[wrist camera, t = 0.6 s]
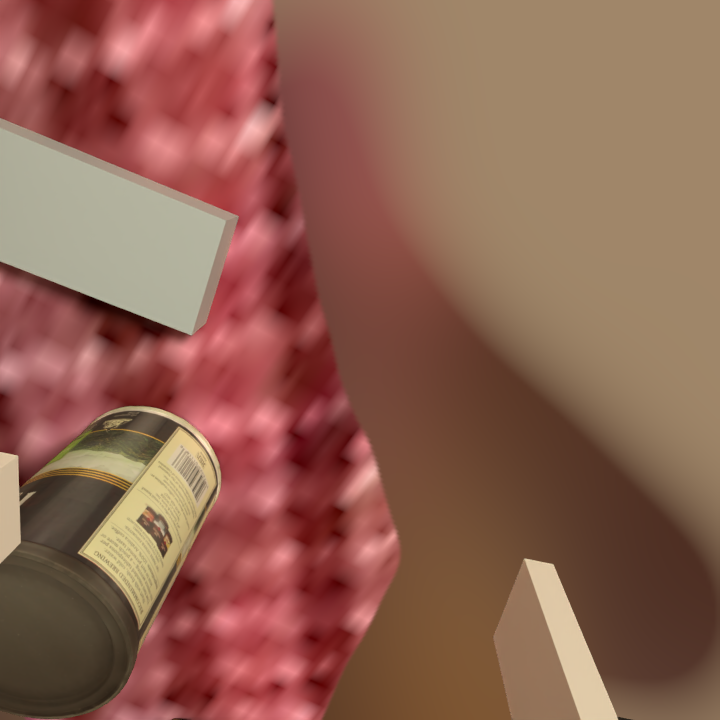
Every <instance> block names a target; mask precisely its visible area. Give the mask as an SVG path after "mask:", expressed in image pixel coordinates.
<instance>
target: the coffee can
mask: <svg viewBox="0 0 720 720" xmlns="http://www.w3.org/2000/svg"><path fill="white" fill-rule="evenodd" d="M220 487H221V471H220V465H219V462H218V460H217V457H216V455H215V453H214V451H213V449H212V447H211V446H210V444H209V443H208V441H207V440H206V439H205V437H204V436H203V435H202V434H201V433H200V432H199V431H198V430H197V429H196V428H195V427H193V426H192V425H191V424H189V423H188V422H187V421H186V420H184V419H182V418H180V417H178V416H176V415H174V414H172V413H170V412H167V411H164V410H162V409H158V408H153V407H147V406H127V407H121V408H118V409H114V410H111V411H109V412H107V413H105V414H103V415H101V416H100V417H98V418H97V419H96V420H94V421H93V422H92V423H91V424H90V425H89V426H88V427H87V428H86V429H85V431H84V432H82V433H81V434H80V435H79V436H78V437H77V438H76V439H75V440H74V441H72V442H71V443H70V444H69V445H68V446H67V447H66V448H65V449H63V450H62V451H61V452H60V453H59V454H58V455H57V456H56V457H54V458H53V459H52V460H51V461H50V462H49V463H48V464H46V465H45V466H44V467H43V468H42V469H41V470H40V471H39V472H37V473H36V474H35V475H34V476H33V477H32V478H30V479H29V480H28V481H27V482H26V483H25V484H24V485H23V486H21V487H20V488H19V503H20V535H21V543H20V544H19V545H18V546H17V547H16V548H15V549H14V550H13V551H12V552H11V553H10V554H9V555H8V556H7V557H6V558H5V559H4V560H3V561H2V562H1V563H0V711H3V712H7V713H10V714H14V715H18V716H24V717H31V718H40V719H61V718H69V717H74V716H79V715H83V714H86V713H89V712H92V711H94V710H96V709H98V708H100V707H102V706H103V705H105V704H107V703H108V702H109V701H111V700H112V699H113V698H115V697H116V696H117V695H118V694H119V693H120V691H121V690H122V689H123V688H124V686H125V684H126V683H127V681H128V679H129V677H130V674H131V672H132V670H133V668H134V664H135V661H136V658H137V654H138V652H139V650H140V648H141V646H142V644H143V642H144V640H145V638H146V636H147V634H148V632H149V630H150V628H151V626H152V624H153V622H154V620H155V618H156V616H157V614H158V612H159V610H160V608H161V606H162V604H163V602H164V600H165V598H166V596H167V594H168V592H169V591H170V589H171V587H172V585H173V583H174V581H175V579H176V577H177V575H178V573H179V571H180V569H181V567H182V565H183V563H184V561H185V559H186V557H187V555H188V553H189V551H190V549H191V547H192V545H193V543H194V541H195V539H196V537H197V535H198V533H199V531H200V529H201V527H202V525H203V523H204V521H205V519H206V517H207V515H208V513H209V512H210V510H211V509H212V507H213V506H214V504H215V502H216V501H217V498H218V495H219V492H220Z"/></svg>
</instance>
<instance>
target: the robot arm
mask: <svg viewBox="0 0 720 720" xmlns="http://www.w3.org/2000/svg"><path fill="white" fill-rule="evenodd" d="M20 543H21V535H20V503H19V471H18V456H17V455H12V454H7V453H2V452H0V563H1V562H2V561H3V560H4V559H5V558H6V557H7V556H8V555H9V554H10V553H11V552H12V551H13V550H14V549H15V548H16V547H17V546H18V545H19V544H20ZM494 642H495V647H496V651H497V656H498V660H499V664H500V669H501V673H502V678H503V682H504V687H505V691H506V696H507V700H508V704H509V709H510V713H511V717H512V720H631V719H626V718H621V717H617V716H616V713H615V711H614V709H613V706H612V704H611V702H610V699H609V697H608V694H607V692H606V689H605V687H604V685H603V682H602V680H601V677H600V675H599V673H598V671H597V668H596V666H595V664H594V661H593V658H592V656H591V654H590V651H589V649H588V647H587V644H586V642H585V640H584V637H583V635H582V632H581V630H580V628H579V625H578V623H577V620H576V618H575V615H574V613H573V611H572V609H571V606H570V603H569V601H568V599H567V596H566V594H565V592H564V590H563V587H562V584H561V582H560V580H559V577H558V575H557V572H556V570H555V568H554V565H553V564H548V563H544V562H538V561H534V560H529V559H524V561H523V563H522V566H521V568H520V571H519V573H518V576H517V578H516V581H515V583H514V586H513V588H512V591H511V594H510V596H509V599H508V601H507V604H506V606H505V609H504V611H503V614H502V616H501V619H500V621H499V625H498V626H497V629H496V632H495V634H494Z"/></svg>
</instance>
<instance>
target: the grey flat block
mask: <svg viewBox="0 0 720 720" xmlns="http://www.w3.org/2000/svg"><path fill="white" fill-rule="evenodd" d="M238 218H239V216H237V215H234V214H232V213H229V212H227V211H225V210H222V209H220V208H217V207H215V206H212V205H210V204H208V203H205V202H203V201H200V200H198V199H195V198H193V197H191V196H188V195H186V194H183V193H181V192H178V191H176V190H174V189H171V188H169V187H166V186H164V185H161V184H159V183H157V182H154V181H152V180H149V179H147V178H144V177H142V176H140V175H137V174H135V173H132V172H130V171H127V170H125V169H123V168H120V167H118V166H115V165H113V164H110V163H108V162H106V161H103V160H101V159H98V158H96V157H94V156H91V155H89V154H86V153H84V152H81V151H79V150H77V149H74V148H72V147H69V146H67V145H64V144H62V143H60V142H57V141H55V140H52V139H50V138H47V137H45V136H43V135H40V134H38V133H35V132H33V131H30V130H28V129H26V128H23V127H21V126H18V125H16V124H13V123H11V122H9V121H6V120H4V119H1V118H0V261H1V262H3V263H6V264H8V265H11V266H14V267H16V268H19V269H21V270H24V271H27V272H29V273H32V274H34V275H37V276H39V277H42V278H45V279H47V280H50V281H52V282H55V283H57V284H60V285H63V286H65V287H68V288H70V289H73V290H76V291H78V292H81V293H83V294H86V295H88V296H91V297H94V298H96V299H99V300H101V301H104V302H107V303H109V304H112V305H114V306H117V307H119V308H122V309H125V310H127V311H130V312H132V313H135V314H137V315H140V316H143V317H145V318H148V319H150V320H153V321H156V322H158V323H161V324H163V325H166V326H168V327H171V328H174V329H176V330H179V331H181V332H184V333H187V334H189V335H193V334H194V333H195V332H196V331H197V330H199V329H200V328H201V327H202V326H203V325H204V324H205V323H206V321H207V318H208V315H209V312H210V308H211V305H212V302H213V299H214V295H215V292H216V289H217V286H218V282H219V279H220V276H221V273H222V270H223V266H224V263H225V260H226V257H227V253H228V250H229V247H230V244H231V240H232V237H233V234H234V231H235V228H236V224H237V221H238Z"/></svg>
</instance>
